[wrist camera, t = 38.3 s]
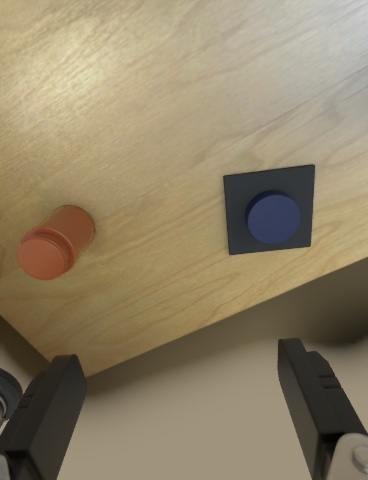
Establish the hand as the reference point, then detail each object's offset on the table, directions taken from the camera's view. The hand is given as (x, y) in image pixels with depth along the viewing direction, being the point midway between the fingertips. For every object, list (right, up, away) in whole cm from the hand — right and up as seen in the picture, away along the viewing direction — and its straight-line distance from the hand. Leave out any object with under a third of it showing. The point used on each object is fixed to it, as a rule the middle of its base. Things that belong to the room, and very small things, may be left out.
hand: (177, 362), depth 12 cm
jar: (-14, +7, +25) cm, 29 cm away
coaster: (+10, +8, +23) cm, 27 cm away
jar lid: (+10, +7, +22) cm, 25 cm away
